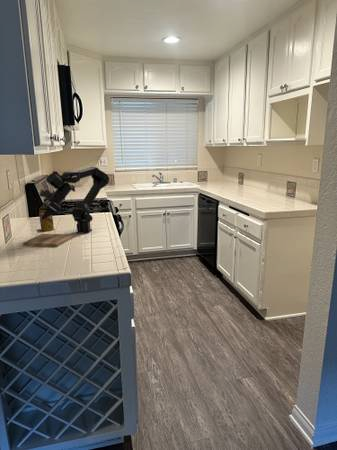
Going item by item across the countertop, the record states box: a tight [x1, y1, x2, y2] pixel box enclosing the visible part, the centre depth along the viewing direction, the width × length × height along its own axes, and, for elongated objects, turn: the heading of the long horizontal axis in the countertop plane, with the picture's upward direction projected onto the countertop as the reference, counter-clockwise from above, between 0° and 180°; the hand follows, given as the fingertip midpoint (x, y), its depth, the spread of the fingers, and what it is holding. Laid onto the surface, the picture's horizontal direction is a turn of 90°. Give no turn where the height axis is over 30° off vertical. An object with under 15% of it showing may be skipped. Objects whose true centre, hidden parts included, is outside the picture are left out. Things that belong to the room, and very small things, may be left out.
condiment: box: [35, 205, 56, 234], centre depth 155 cm, size 7×8×12 cm
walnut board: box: [22, 233, 74, 248], centre depth 157 cm, size 18×16×2 cm
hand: (41, 217), depth 154 cm, fingers closed on condiment, 6 cm apart
